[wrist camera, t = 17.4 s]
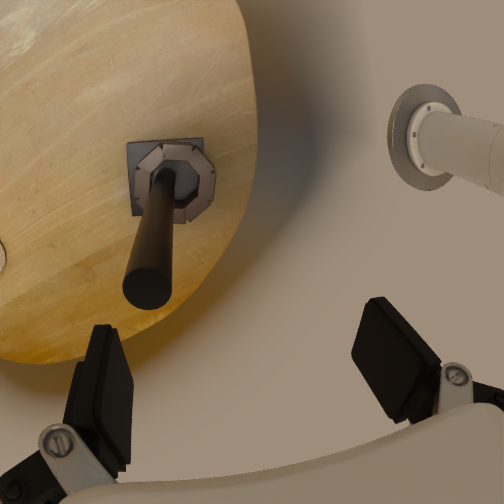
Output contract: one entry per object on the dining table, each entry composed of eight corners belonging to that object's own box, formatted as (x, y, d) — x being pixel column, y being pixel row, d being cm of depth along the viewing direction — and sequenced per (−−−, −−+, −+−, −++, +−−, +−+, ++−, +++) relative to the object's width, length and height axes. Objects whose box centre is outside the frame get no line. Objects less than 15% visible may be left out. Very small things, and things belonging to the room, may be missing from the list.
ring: (216, 144, 34) (219, 147, 32) (208, 216, 38) (210, 225, 35) (139, 140, 32) (136, 142, 29) (136, 213, 36) (133, 222, 33)
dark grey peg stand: (202, 137, 35) (243, 189, 13) (203, 208, 39) (240, 350, 17) (128, 142, 33) (39, 206, 11) (133, 213, 37) (85, 360, 15)
